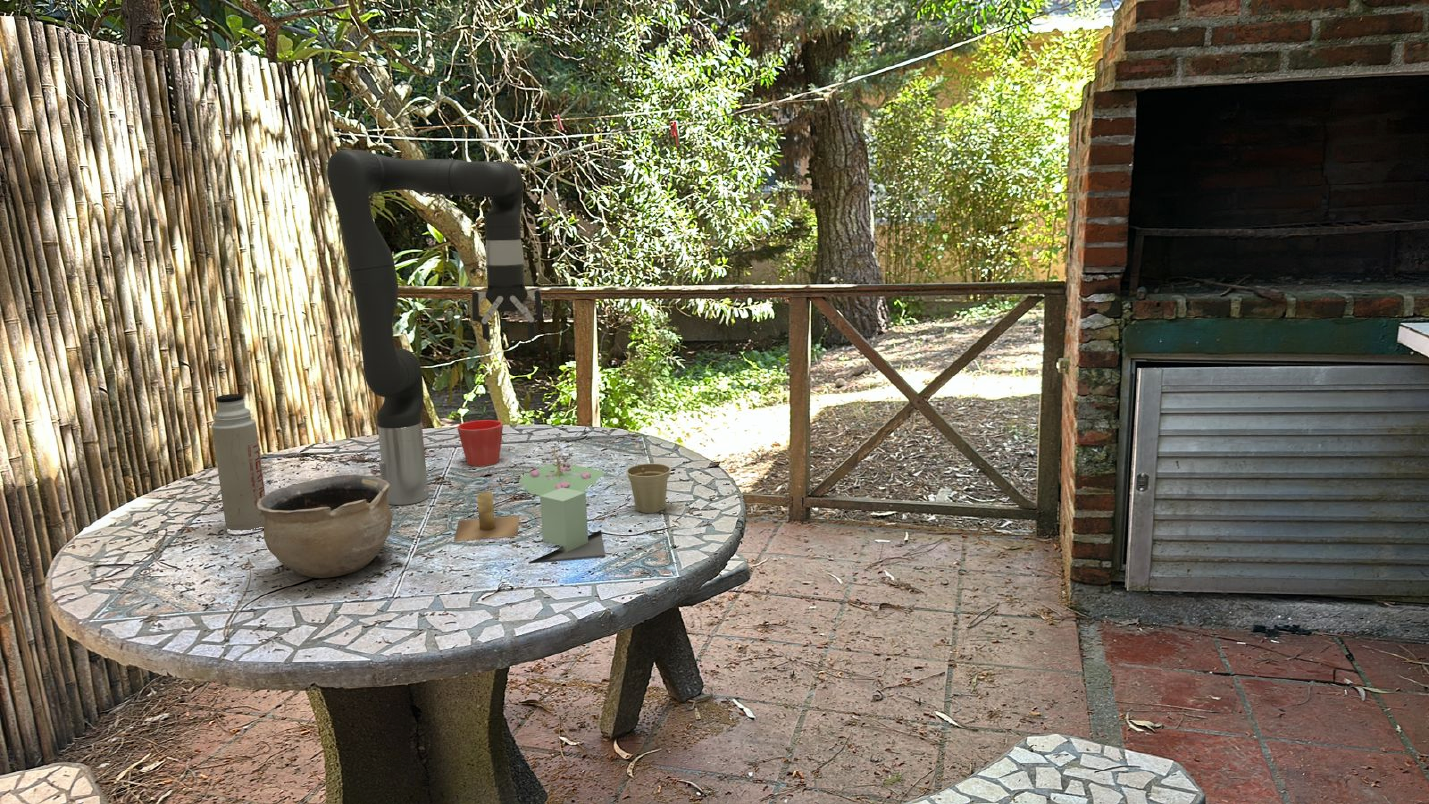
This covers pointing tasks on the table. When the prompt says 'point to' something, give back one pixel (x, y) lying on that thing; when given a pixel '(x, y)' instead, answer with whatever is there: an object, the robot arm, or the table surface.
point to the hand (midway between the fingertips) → (509, 340)
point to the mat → (577, 551)
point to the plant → (559, 477)
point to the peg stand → (486, 522)
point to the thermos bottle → (238, 463)
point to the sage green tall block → (564, 518)
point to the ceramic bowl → (327, 524)
